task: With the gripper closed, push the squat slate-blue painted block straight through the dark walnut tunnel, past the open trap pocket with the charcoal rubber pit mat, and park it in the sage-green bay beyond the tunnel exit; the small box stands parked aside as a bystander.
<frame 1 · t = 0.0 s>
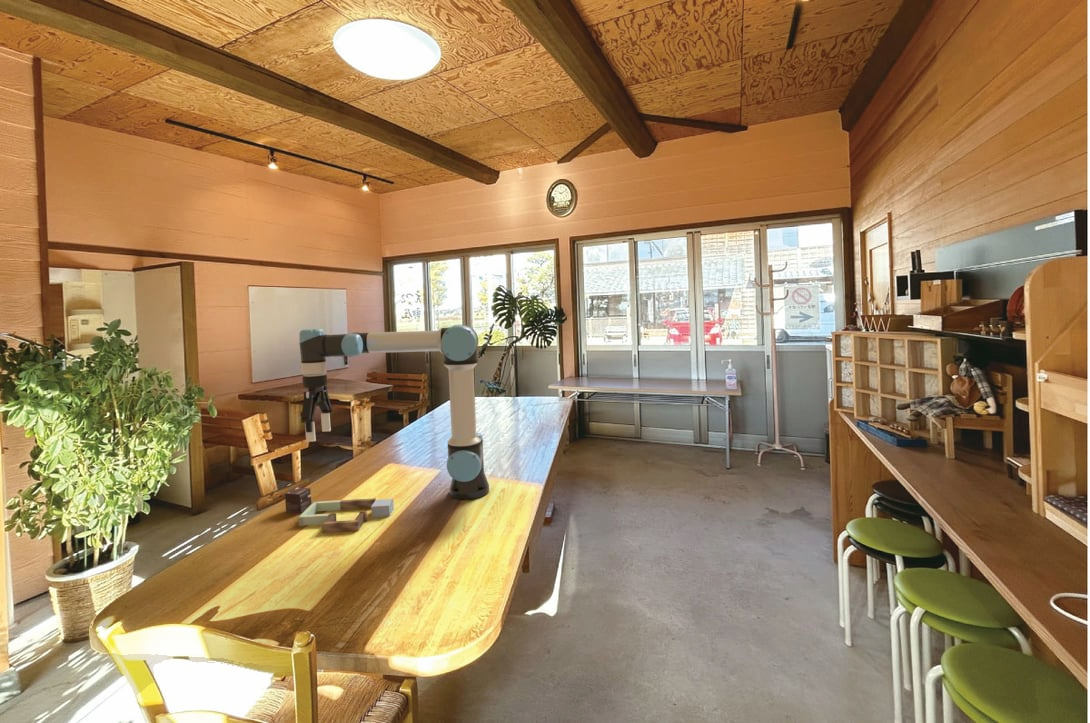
hand: (319, 436, 160), 28 cm above the table, fingers open, 13 cm apart
box: (299, 511, 167), on the table
bay: (323, 516, 161), on the table
tunnel: (353, 514, 162), on the table
pit mat: (344, 526, 153), resting in tunnel
slate block: (383, 513, 163), on the table
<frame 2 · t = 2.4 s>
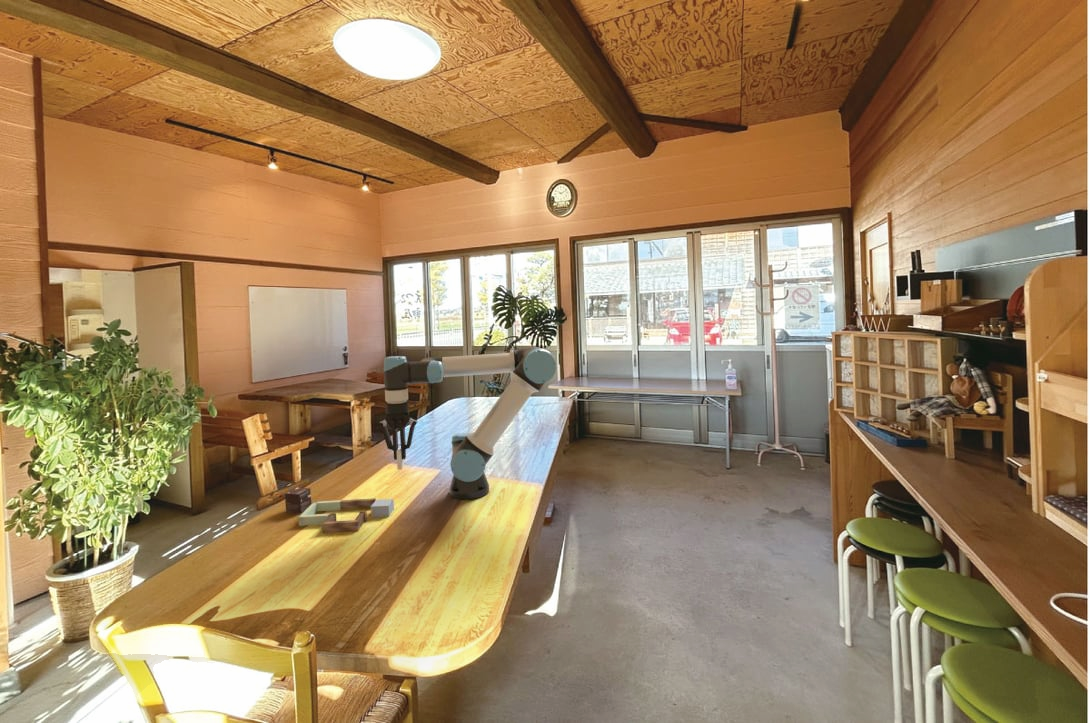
hand: (400, 468, 162), 16 cm above the table, fingers closed
nothing on the table moved.
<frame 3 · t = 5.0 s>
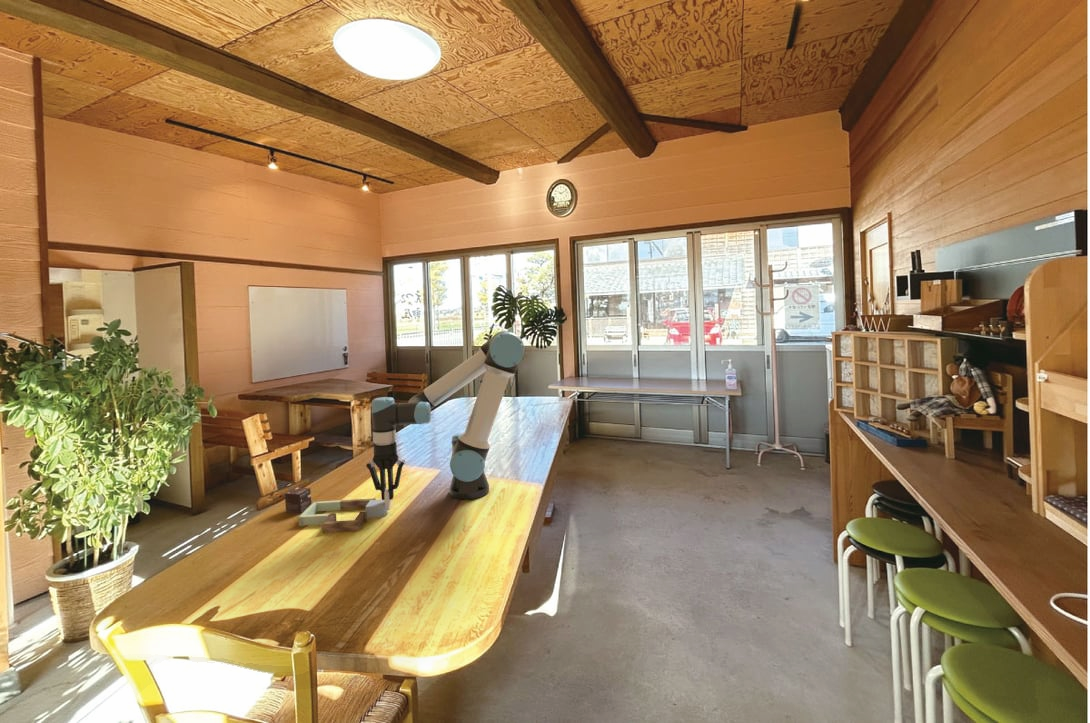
hand: (388, 508, 163), 2 cm above the table, fingers closed
slate block: (377, 513, 163), on the table, touching gripper
everything else where it was.
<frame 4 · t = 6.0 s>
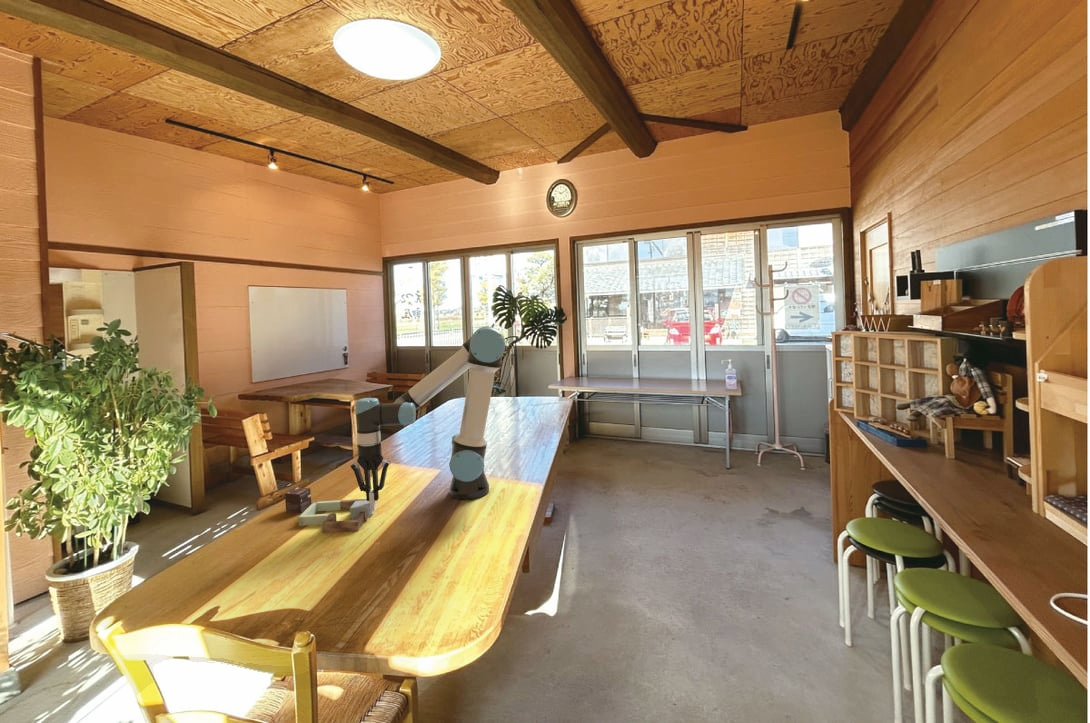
hand: (373, 509, 162), 2 cm above the table, fingers closed
slate block: (362, 515, 162), on the table, touching gripper
everything else where it was.
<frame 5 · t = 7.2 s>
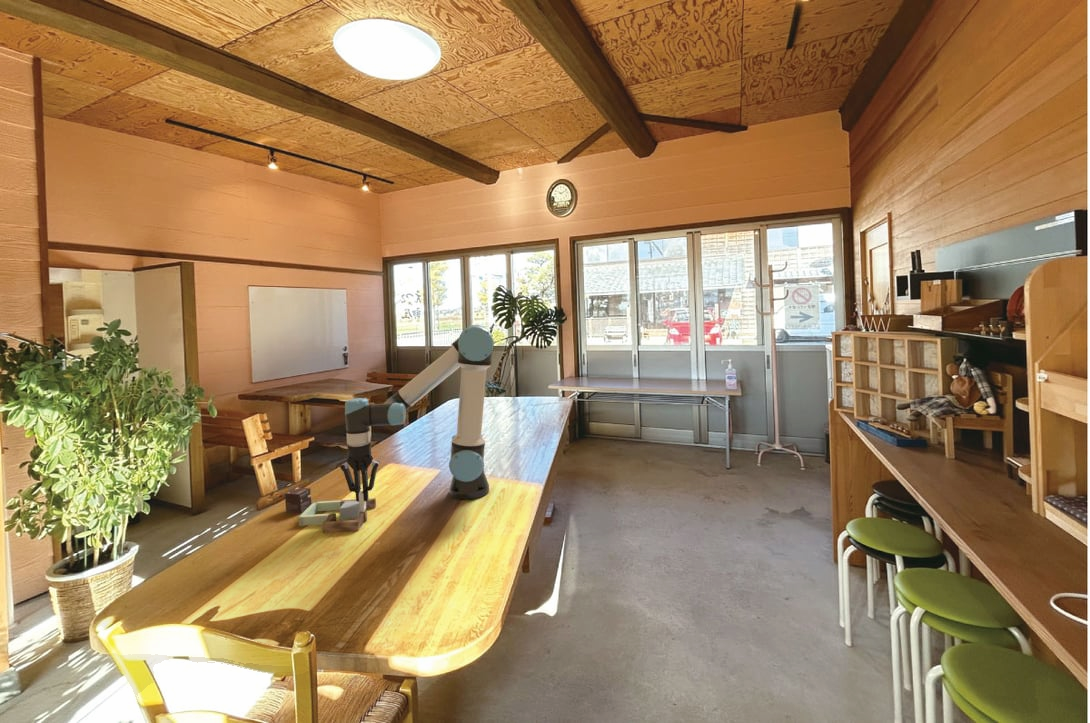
hand: (362, 509, 162), 2 cm above the table, fingers closed
slate block: (352, 515, 162), on the table, touching gripper
everything else where it was.
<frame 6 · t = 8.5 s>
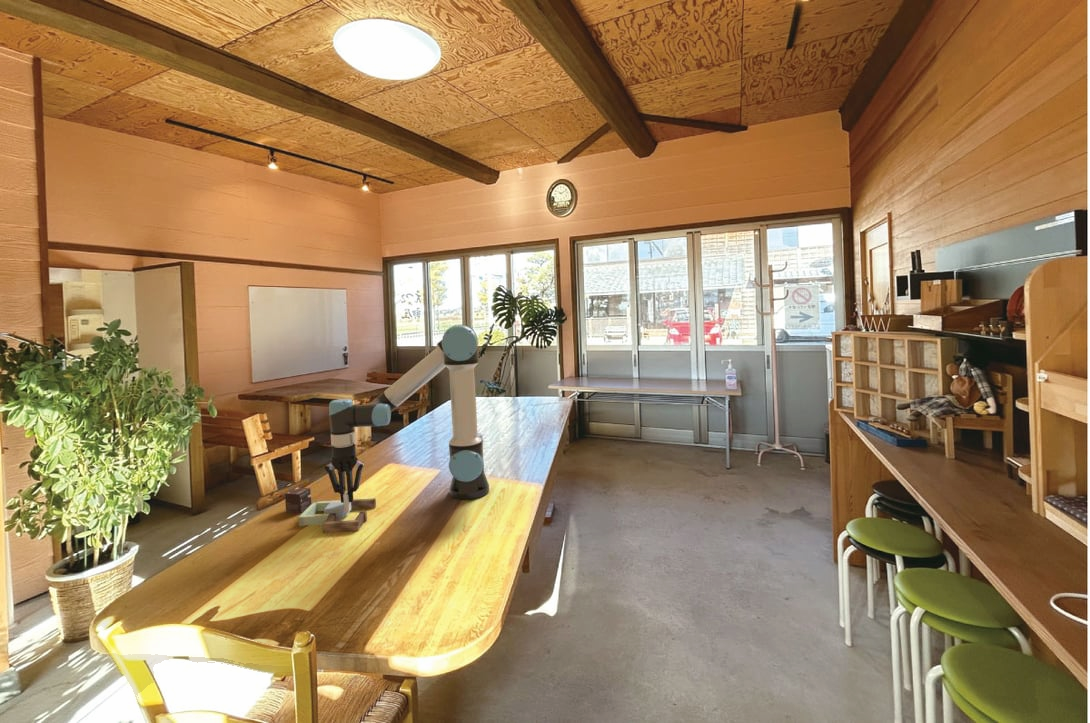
hand: (347, 510, 162), 2 cm above the table, fingers closed
slate block: (337, 516, 162), on the table, touching gripper
everything else where it was.
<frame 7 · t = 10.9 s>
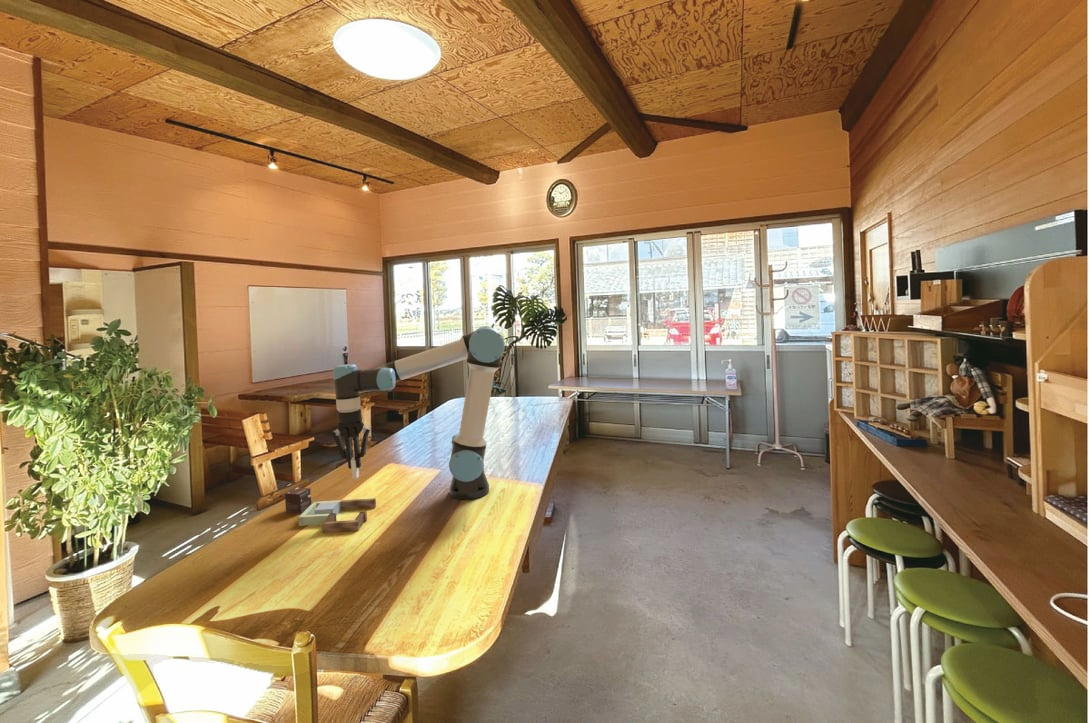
hand: (355, 477, 161), 13 cm above the table, fingers closed
slate block: (327, 517, 161), on the table
everything else where it was.
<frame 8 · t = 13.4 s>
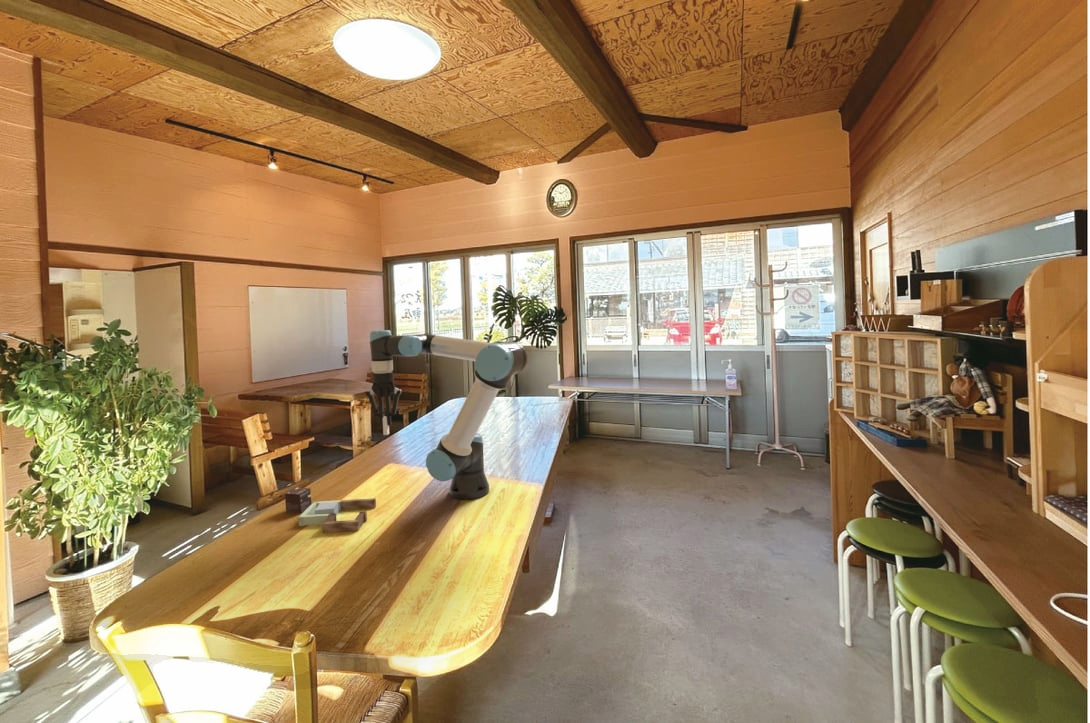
hand: (386, 434, 175), 24 cm above the table, fingers closed
nothing on the table moved.
at the end: slate block inside the target area on the bay (1.2 cm from its centre), point 0.0 cm above the bay's base; slate block tilted 0° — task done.
